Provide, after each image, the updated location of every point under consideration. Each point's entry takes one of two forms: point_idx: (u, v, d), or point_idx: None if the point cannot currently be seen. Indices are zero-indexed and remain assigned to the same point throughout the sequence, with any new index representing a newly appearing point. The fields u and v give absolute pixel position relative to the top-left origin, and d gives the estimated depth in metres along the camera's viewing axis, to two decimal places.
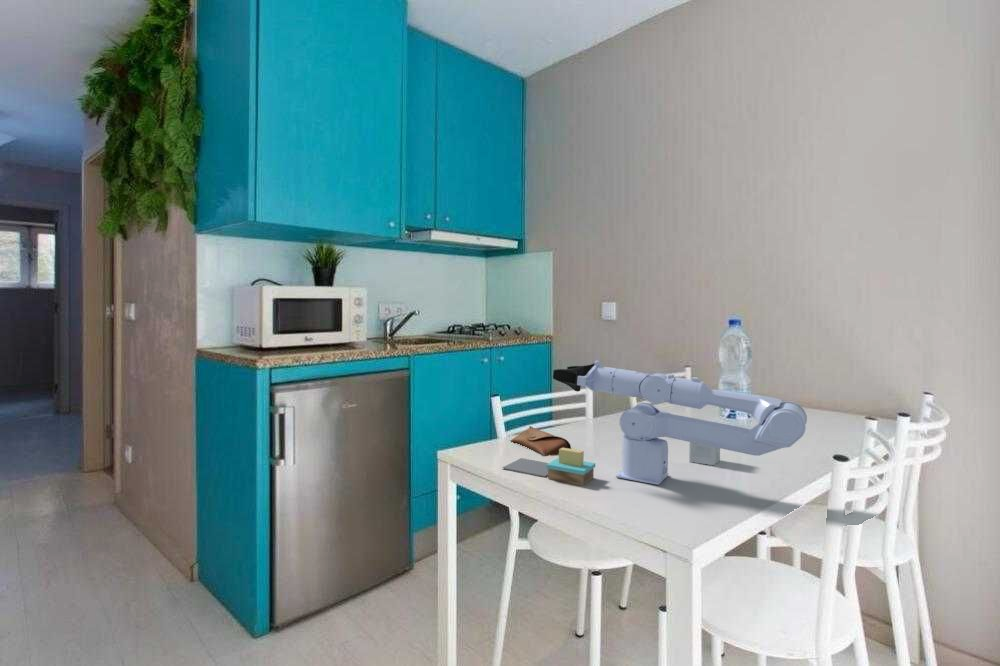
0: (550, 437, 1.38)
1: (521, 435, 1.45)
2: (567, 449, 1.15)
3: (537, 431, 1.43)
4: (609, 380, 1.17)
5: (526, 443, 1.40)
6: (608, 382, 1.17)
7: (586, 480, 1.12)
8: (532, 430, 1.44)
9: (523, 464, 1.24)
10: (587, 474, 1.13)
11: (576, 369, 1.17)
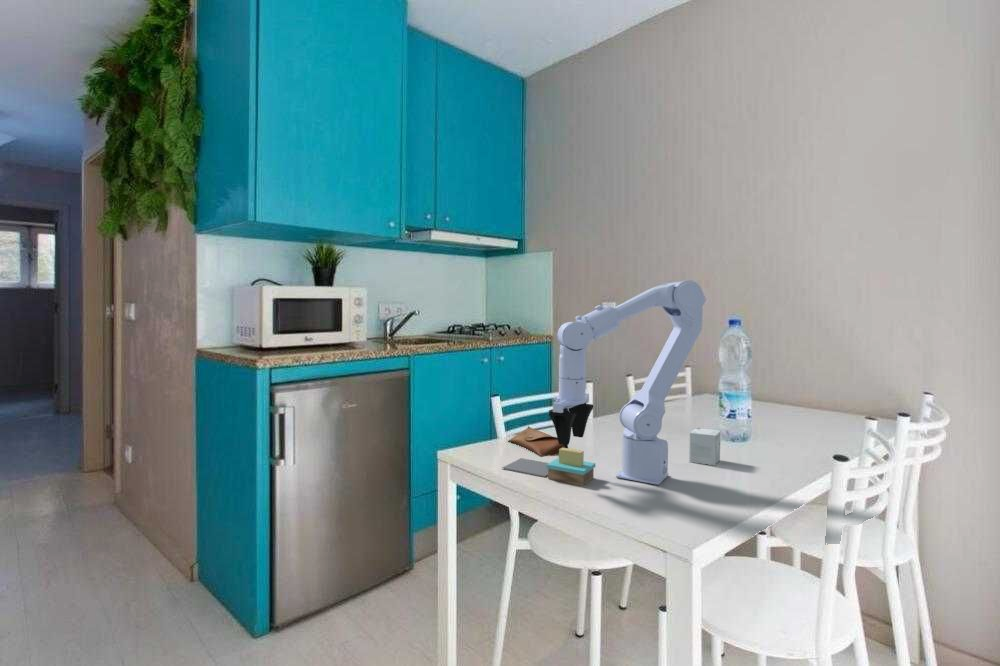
0: (547, 437, 1.37)
1: (519, 435, 1.45)
2: (567, 449, 1.15)
3: (535, 431, 1.43)
4: (564, 381, 1.12)
5: (523, 443, 1.40)
6: (566, 382, 1.12)
7: (586, 480, 1.12)
8: (530, 430, 1.44)
9: (523, 464, 1.24)
10: (587, 474, 1.13)
11: (550, 414, 1.10)
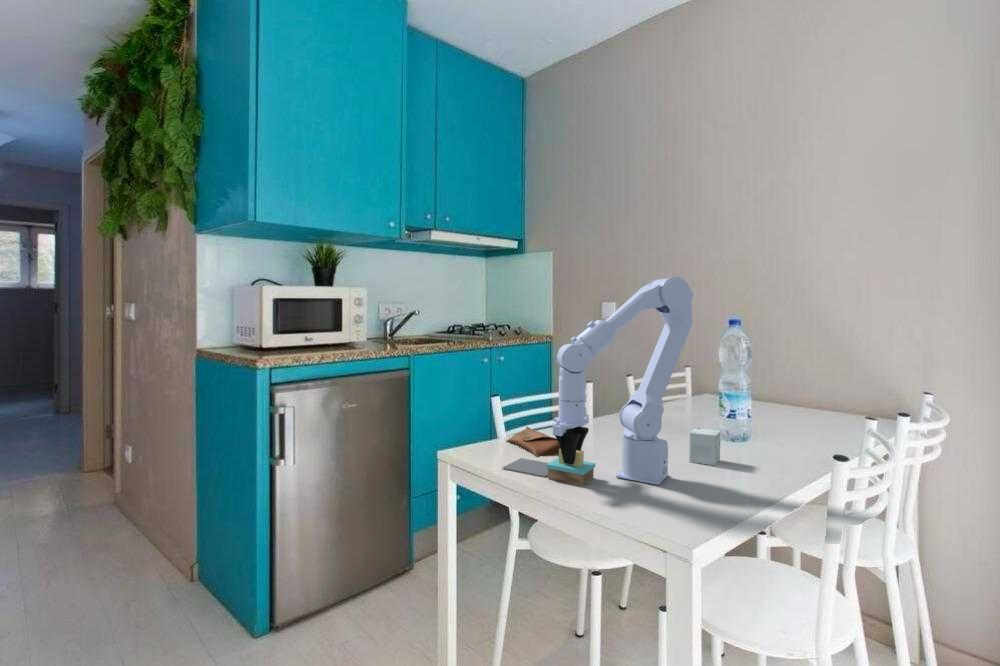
0: (545, 438, 1.37)
1: (517, 435, 1.45)
2: None
3: (533, 432, 1.42)
4: (564, 404, 1.12)
5: (521, 443, 1.39)
6: (566, 405, 1.12)
7: (586, 480, 1.12)
8: (528, 430, 1.43)
9: (523, 464, 1.24)
10: (587, 474, 1.13)
11: (555, 434, 1.13)
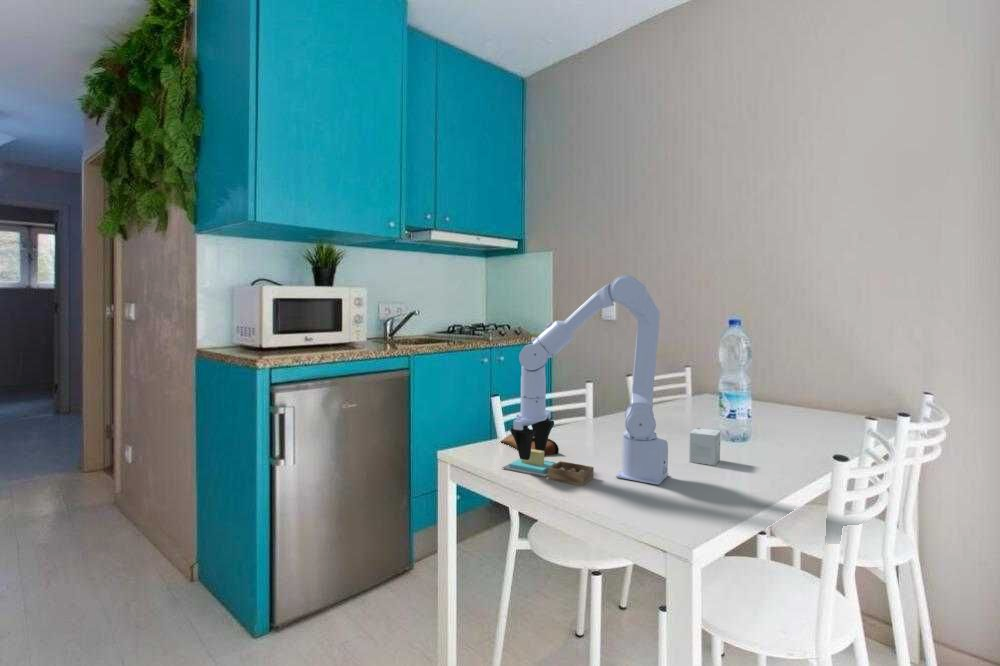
0: None
1: (511, 436, 1.44)
2: None
3: None
4: (525, 400, 1.19)
5: (514, 444, 1.39)
6: (527, 401, 1.19)
7: (586, 480, 1.12)
8: None
9: None
10: (587, 474, 1.13)
11: (511, 431, 1.18)
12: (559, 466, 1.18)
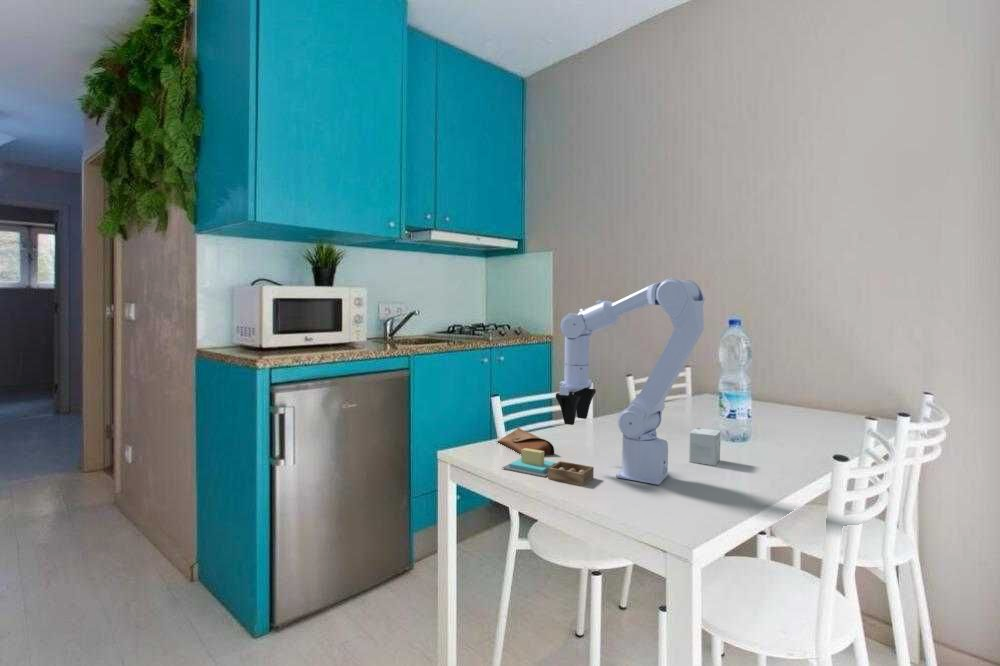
0: (534, 439, 1.36)
1: (507, 436, 1.44)
2: (529, 449, 1.23)
3: (523, 433, 1.41)
4: (570, 367, 1.24)
5: (510, 444, 1.38)
6: (571, 368, 1.23)
7: (586, 480, 1.12)
8: (518, 431, 1.42)
9: None
10: (587, 474, 1.13)
11: (556, 397, 1.22)
12: (559, 466, 1.18)
